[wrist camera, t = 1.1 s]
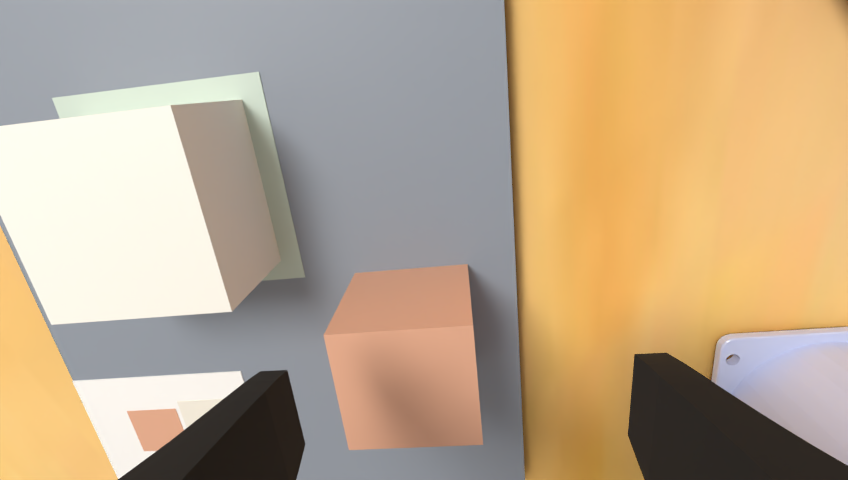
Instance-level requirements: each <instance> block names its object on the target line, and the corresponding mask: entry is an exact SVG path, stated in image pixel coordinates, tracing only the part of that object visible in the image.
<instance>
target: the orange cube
mask: <svg viewBox="0 0 848 480" xmlns="http://www.w3.org/2000/svg"><path fill="white" fill-rule="evenodd" d="M324 340H325V344H326V349H327V354H328V358H329V363H330V367H331V372H332V376H333V381H334V385H335V390H336V394H337V399H338V403H339V408H340V412H341V417H342V421H343V426H344V430H345V435H346V439H347V444H348V448H349V450H366V449H392V448H417V447H442V446H467V445H483V436H482V425H481V413H480V401H479V389H478V377H477V365H476V353H475V341H474V329H473V318H472V307H471V296H470V285H469V274H468V264H463V265H450V266H437V267H425V268H412V269H399V270H387V271H374V272H362V273H355V274H354V276H353V278H352V280H351V282H350V284H349V286H348V288H347V290H346V292H345V293H344V295H343V297H342V299H341V301H340V303H339V305H338V307H337V309H336V311H335V313H334V315H333V317H332V319H331V321H330V323H329V325H328V327H327V329H326V331H325V333H324Z"/></svg>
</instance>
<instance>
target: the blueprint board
mask: <svg viewBox="0 0 848 480" xmlns="http://www.w3.org/2000/svg"><path fill="white" fill-rule="evenodd" d="M241 99H242V102H243V106H244V110H245V114H246V118H247V122H248V127H249V131H250V135H251V139H252V143H253V147H254V151H255V155H256V159H257V164H258V168H259V172H260V176H261V180H262V184H263V188H264V192H265V196H266V201H267V205H268V209H269V213H270V217H271V221H272V225H273V229H274V233H275V238H276V242H277V246H278V250H279V254H280V258H281V261H280V262H279V263H278V264H277V265H276V266H275V267H274V268H273V269H272V270H271V271H270V272H269V273H268V275H267V276H266V277H265V278H264V279H263V280H262V281H261V282H260V283H259V284H258V285H257V286H256V287H255V288H254V289H253V290H252V291H251V292H250V293H249V294H248V295H247V296H246V298H245V299H244V300H243V301H242V302H241V303H240V304H239V305H238V306H237V307H236V308H235V309H234V310H233V311H232V312H221V313H208V314H194V315H180V316H166V317H152V318H139V319H125V320H111V321H97V322H84V323H70V324H56V325H51V323H50V321H49V319H48V317H47V315H46V312H45V310H44V308H43V306H42V304H41V302H40V300H39V297H38V295H37V293H36V291H35V289H34V287H33V284H32V282H31V280H30V278H29V276H28V274H27V272H26V269H25V267H24V265H23V263H22V261H21V259H20V257H19V254H18V252H17V250H16V248H15V246H14V244H13V241H12V239H11V237H10V235H9V233H8V231H7V229H6V226H5V224H4V222H3V220H2V218H1V216H0V226H1V228H2V230H3V232H4V234H5V236H6V239H7V241H8V243H9V245H10V247H11V249H12V251H13V253H14V256H15V258H16V260H17V262H18V264H19V266H20V268H21V271H22V273H23V275H24V277H25V279H26V281H27V283H28V285H29V288H30V290H31V292H32V294H33V296H34V298H35V300H36V303H37V305H38V307H39V309H40V311H41V313H42V315H43V317H44V320H45V322H46V324H47V326H48V328H49V330H50V332H51V335H52V337H53V339H54V341H55V343H56V345H57V347H58V350H59V352H60V354H61V356H62V358H63V360H64V362H65V364H66V367H67V369H68V371H69V373H70V375H71V377H72V379H73V381H72V382H73V384H74V386H75V388H76V390H77V392H78V394H79V396H80V399H81V401H82V403H83V405H84V407H85V409H86V411H87V413H88V416H89V418H90V420H91V422H92V424H93V426H94V428H95V431H96V433H97V435H98V437H99V439H100V441H101V443H102V445H103V448H104V450H105V452H106V454H107V456H108V458H109V460H110V462H111V465H112V467H113V469H114V471H115V473H116V475H117V477H118V479H119V478H121V477H122V476H123V475H125V474H126V473H127V472H129V471H130V470H132V469H133V468H134V467H136V466H137V465H138V464H140V463H141V462H142V461H144V460H145V459H146V458H148V457H149V456H151V455H152V454H153V453H155V452H156V451H157V450H159V449H160V448H161V447H163V446H164V445H165V444H167V443H168V442H169V441H171V440H172V439H173V438H175V437H176V436H177V435H178V434H180V433H181V432H182V431H184V430H185V429H186V428H187V427H189V426H190V425H191V424H192V423H194V422H195V421H196V420H197V419H199V418H200V417H201V416H203V415H204V414H205V413H206V412H208V411H209V410H210V409H211V408H213V407H214V406H215V405H216V404H218V403H219V402H220V401H221V400H223V399H224V398H225V397H227V396H228V395H229V394H230V393H232V392H233V391H234V390H235V389H237V388H238V387H239V386H241V385H242V384H243V383H244V382H246V381H247V380H248V379H250V378H251V377H253V376H254V375H255V374H257V373H258V372H260V371H275V370H287V371H288V375H289V379H290V383H291V387H292V391H293V395H294V399H295V403H296V407H297V412H298V416H299V420H300V424H301V428H302V432H303V436H304V440H305V448H304V452H303V456H302V460H301V464H300V468H299V472H298V475H297V479H296V480H525V470H524V447H523V424H522V401H521V378H520V355H519V332H518V309H517V286H516V263H515V240H514V217H513V194H512V171H511V148H510V125H509V102H508V79H507V56H506V33H505V10H504V0H0V126H4V125H12V124H20V123H29V122H37V121H45V120H53V119H61V118H70V117H78V116H86V115H94V114H103V113H111V112H119V111H127V110H135V109H144V108H152V107H160V106H168V105H180V104H192V103H204V102H217V101H229V100H241ZM463 264H468V274H469V285H470V296H471V307H472V318H473V329H474V341H475V353H476V365H477V377H478V389H479V401H480V413H481V425H482V436H483V445H467V446H442V447H417V448H392V449H366V450H349V448H348V444H347V439H346V435H345V430H344V426H343V421H342V417H341V412H340V408H339V403H338V399H337V394H336V390H335V385H334V381H333V376H332V372H331V367H330V363H329V358H328V354H327V349H326V344H325V340H324V333H325V331H326V329H327V327H328V325H329V323H330V321H331V319H332V317H333V315H334V313H335V311H336V309H337V307H338V305H339V303H340V301H341V299H342V297H343V295H344V293H345V292H346V290H347V288H348V286H349V284H350V282H351V280H352V278H353V276H354V274H355V273H362V272H374V271H387V270H399V269H412V268H425V267H437V266H450V265H463Z"/></svg>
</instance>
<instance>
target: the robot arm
mask: <svg viewBox="0 0 848 480" xmlns="http://www.w3.org/2000/svg"><path fill="white" fill-rule="evenodd" d="M730 355H733V356H732V357H731V358H730V359H727V357H728V356H730ZM628 436H629V439H630V442H631V444H632V447H633V450H634V453H635V455H636V458H637V461H638V463H639V466H640V469H641V471H642V474H643V476H644V479H645V480H848V327H835V328H818V329H802V330H785V331H769V332H752V333H736V334H728V335H725V336H723V337H721V338H720V339H719V340H718V342H717V344H716V350H715V358H714V365H713V372H712V379H711V381H710V380H709V379H707V378H706V377H704V376H703V375H701V374H700V373H698V372H697V371H695V370H694V369H692V368H691V367H689V366H687V365H686V364H684V363H683V362H681V361H679V360H678V359H676V358H674V357H673V356H671V355H669V354H668V353H653V354H635V357H634V369H633V381H632V393H631V405H630V417H629V429H628ZM304 448H305V440H304V436H303V432H302V428H301V424H300V420H299V416H298V412H297V407H296V403H295V399H294V395H293V391H292V387H291V383H290V379H289V375H288V371H287V370H275V371H260V372H258V373H257V374H255V375H254V376H253V377H251V378H250V379H248V380H247V381H246V382H244V383H243V384H242V385H241V386H239V387H238V388H237V389H235V390H234V391H233V392H232V393H230V394H229V395H228V396H227V397H225V398H224V399H223V400H221V401H220V402H219V403H218V404H216V405H215V406H214V407H213V408H211V409H210V410H209V411H208V412H206V413H205V414H204V415H203V416H201V417H200V418H199V419H197V420H196V421H195V422H194V423H192V424H191V425H190V426H189V427H187V428H186V429H185V430H184V431H182V432H181V433H180V434H178V435H177V436H176V437H175V438H173V439H172V440H171V441H169V442H168V443H167V444H165V445H164V446H163V447H161V448H160V449H159V450H157V451H156V452H155V453H153V454H152V455H151V456H149V457H148V458H146V459H145V460H144V461H142V462H141V463H140V464H138V465H137V466H136V467H134V468H133V469H132V470H130V471H129V472H127V473H126V474H125V475H123V476H122V477H121V478H119V479H118V480H296V479H297V475H298V472H299V468H300V464H301V460H302V456H303V452H304Z"/></svg>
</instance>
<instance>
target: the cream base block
mask: <svg viewBox="0 0 848 480" xmlns="http://www.w3.org/2000/svg"><path fill="white" fill-rule="evenodd" d="M0 216H1V218H2V220H3V222H4V224H5V226H6V229H7V231H8V233H9V235H10V237H11V239H12V241H13V244H14V246H15V248H16V250H17V252H18V254H19V257H20V259H21V261H22V263H23V265H24V267H25V269H26V272H27V274H28V276H29V278H30V280H31V282H32V284H33V287H34V289H35V291H36V293H37V295H38V297H39V300H40V302H41V304H42V306H43V308H44V310H45V312H46V315H47V317H48V319H49V321H50V323H51V325H56V324H70V323H84V322H97V321H111V320H125V319H139V318H152V317H166V316H180V315H194V314H208V313H221V312H232V311H233V310H234V309H235V308H236V307H237V306H238V305H239V304H240V303H241V302H242V301H243V300H244V299H245V298H246V296H247V295H248V294H249V293H250V292H251V291H252V290H253V289H254V288H255V287H256V286H257V285H258V284H259V283H260V282H261V281H262V280H263V279H264V278H265V277H266V276H267V275H268V273H269V272H270V271H271V270H272V269H273V268H274V267H275V266H276V265H277V264H278V263H279V262H280V261H281V258H280V254H279V250H278V246H277V242H276V238H275V233H274V229H273V225H272V221H271V217H270V213H269V209H268V205H267V201H266V196H265V192H264V188H263V184H262V180H261V176H260V172H259V168H258V164H257V159H256V155H255V151H254V147H253V143H252V139H251V135H250V131H249V127H248V122H247V118H246V114H245V110H244V106H243V102H242V99H241V100H229V101H217V102H204V103H192V104H180V105H168V106H160V107H152V108H144V109H135V110H127V111H119V112H111V113H103V114H94V115H86V116H78V117H70V118H61V119H53V120H45V121H37V122H29V123H20V124H12V125H4V126H0Z"/></svg>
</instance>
